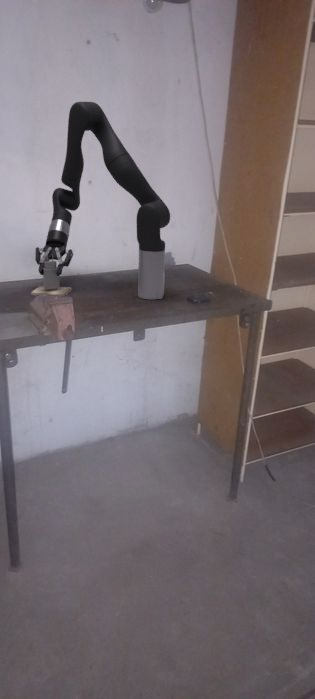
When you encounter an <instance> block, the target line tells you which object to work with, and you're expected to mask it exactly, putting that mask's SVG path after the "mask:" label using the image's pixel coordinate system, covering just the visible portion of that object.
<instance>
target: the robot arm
mask: <svg viewBox="0 0 315 699" xmlns="http://www.w3.org/2000/svg"><path fill="white" fill-rule="evenodd" d="M67 123H68V124H67V138H66V142H67V143H66V151H65V152H66V153H65V158H64V159H65V161H64V164H63V169H62V175H61V183H62V184H63V185H64V186H66V187H67V188H70V189H71V190H69V189H65V188H62V187H58V188H57V187H56V188H55V189H54V191H53V193H52V198H51V199H52V201H51V202H52V208H53V209H52V210H53V211H52V212H53V213H52V217H51V222H50V225H49V229H48V231H47V235H46V240H45V245H44V246H43V247H42V248H40V247H39V246H37V247H35V257H34V258H35V263H36V264H37V265H38V272H39V274H40V276H43V268H45V262H46V261H47V255H48V261H52V255H53V261H57V262H58V264H57V272H56V274H57V276H59V277H60V276H61V275H62V273H63V269H64V267H69V266H70V263H71V262H72V259H73V256H74V252H73V250H72V249H67V247H68V241H69V237H70V231H71V230H70V228H71V224H72V218H73V215H72V213H71V211H72V212H74V211H76V210H78V209H79V207H80V205H81V194H80V189H81V188H80V187H81V181H82V177H83V176H82V175H83V171H84V165H85V160H84V155H83V149H82V142H83V138H84V135H85V132H86V131H87V132H88V131H90V132H91V133H92V134H93V135H94V137H96V139H97V141H98V142H99V144H100V147H101V149H102V157H103V163H104V166H105V167H106V169H107V171H108V172H109V174H110V176H112V178H113V180H115V182H116V183H117V185H119V186H120V187H121V188H122V189H124V190H125V191H126V192H128V193H129V194H130V195H131V196H132V197H133V198H134V199H135V200H136V201H137V203H138V204H139V205H140V207H139V208H138V210H137V214H136V240H137V243H138V279H137V280H138V281H137V283H138V284H137V297H138V298H140V299H144V300H162V299H163V298H164V295H165V280H166V279H165V274H166V270H165V257H166V256H165V255H166V242H165V241H164V240H163V239H161V229H163V228H165V227H167V226H168V225H169V223H170V221H171V212H170V209H169V208H168V206H167V205H166V204H165V202H164V200H163V199H162V198H161V196H159V195H158V194H157V192H156V191H155V190H154V188H152V186H151V185H150V183H149V182H148V180H147V179H146V177H145V176H144V174H143V172H142V171H141V169H140V168H139V167H138V165H137V163H136V162H135V159H133V157H132V156H131V154H130V153H129V152H128V150H127V149H126V148H125V145H124V144H123V143H122V141H121V139H120V138H119V137H118V135H117V134H116V132H115V130H114V128H113V127H112V124H111V123H110V121H109V119H108V117H107V116H106V113H105V112H104V110H103V109H102V107H101V106H100V105H99V104H98V103H96V102H93V101H77V102H74V103H73V104H72V105H71V107H70V110H69V114H68V122H67ZM43 253H44V254H43ZM64 255H66V256H65V259H64V260H63V256H64ZM41 256H42V257H41Z"/></svg>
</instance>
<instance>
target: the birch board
mask: <svg viewBox="0 0 315 699" xmlns="http://www.w3.org/2000/svg"><path fill="white" fill-rule="evenodd" d="M71 291H72V287H71V286H70V287H69V286H60V288H56V289H45V288H44V284H43V285H39V286H37V288H35V289H33V290H32V291H31V292H30V295H31V296H36V297H37V295H39V294H48V295H66V296H67V295H68V294H69V293H70V292H71Z"/></svg>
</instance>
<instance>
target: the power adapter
mask: <svg viewBox="0 0 315 699" xmlns="http://www.w3.org/2000/svg"><path fill="white" fill-rule="evenodd" d="M57 267H58V264H57V260H54V259H53V255H52V260H49V261H48V255H47V261H46V262H45V268H43V275H42V277H43V279H42V280H43V282H42V284H43V286H44V288H45V289H56V288H60V287H61V286H60V276H57V274H56V272H57Z"/></svg>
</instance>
